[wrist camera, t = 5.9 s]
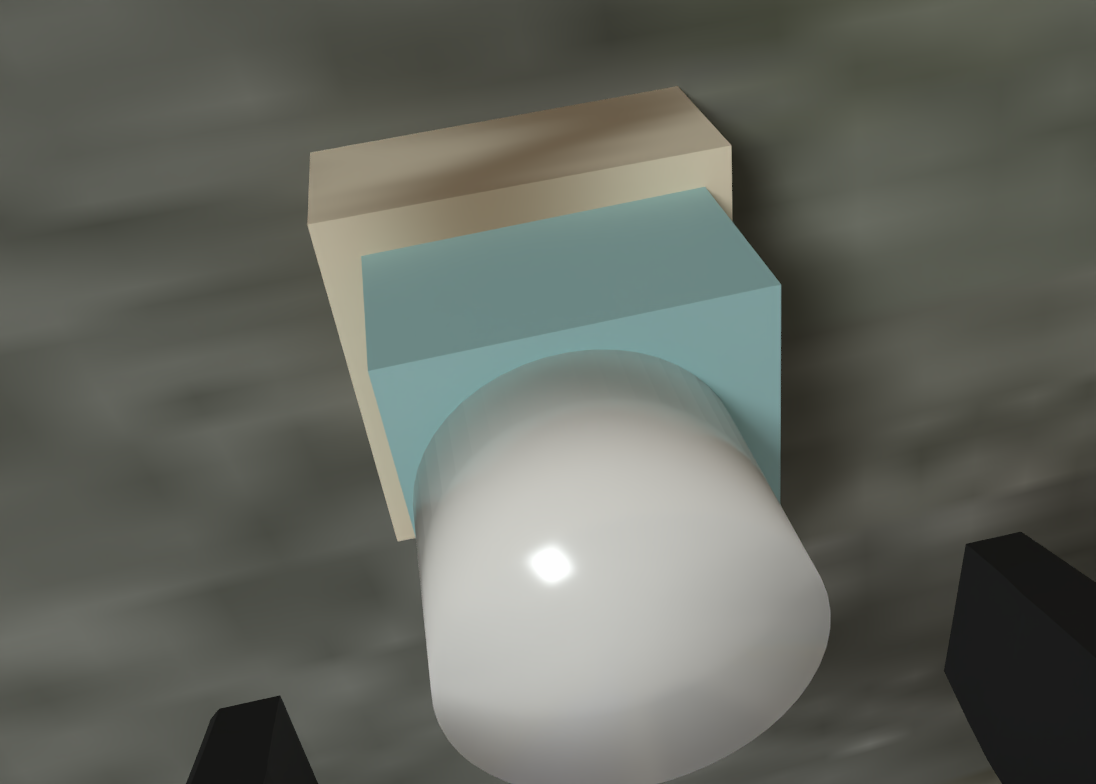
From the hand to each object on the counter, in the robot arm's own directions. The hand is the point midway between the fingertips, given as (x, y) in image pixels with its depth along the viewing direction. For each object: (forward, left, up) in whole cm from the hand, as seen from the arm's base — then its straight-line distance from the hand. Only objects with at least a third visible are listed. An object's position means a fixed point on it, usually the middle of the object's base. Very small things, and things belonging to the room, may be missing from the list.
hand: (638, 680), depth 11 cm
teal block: (0, 0, -6) cm, 6 cm away
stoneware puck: (0, 0, -3) cm, 3 cm away
